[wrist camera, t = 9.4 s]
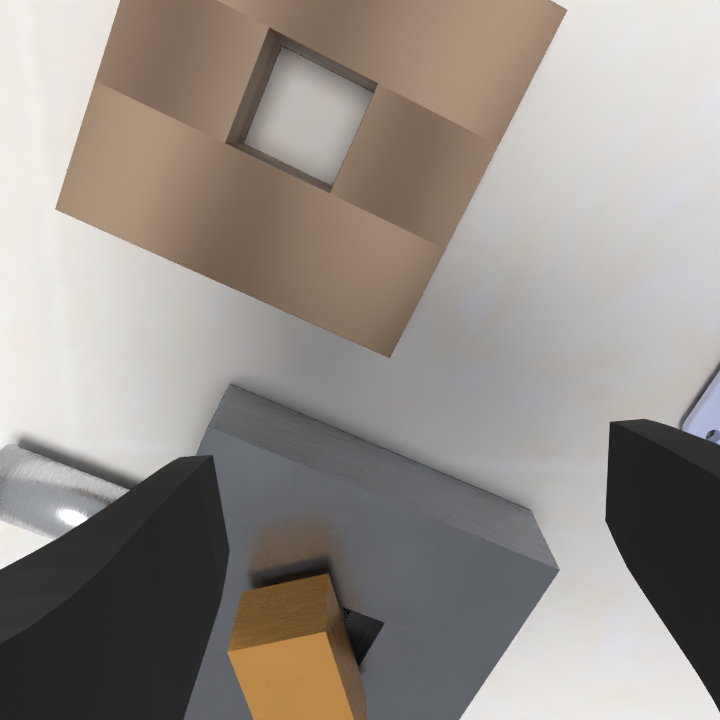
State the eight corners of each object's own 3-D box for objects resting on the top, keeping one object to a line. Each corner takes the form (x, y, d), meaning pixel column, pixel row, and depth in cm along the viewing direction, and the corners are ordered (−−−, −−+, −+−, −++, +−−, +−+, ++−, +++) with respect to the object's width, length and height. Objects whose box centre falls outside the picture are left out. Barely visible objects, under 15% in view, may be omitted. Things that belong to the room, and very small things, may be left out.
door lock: (530, 510, 24) (560, 569, 20) (389, 733, 27) (394, 815, 24) (60, 312, 21) (5, 343, 18) (-31, 587, 24) (-91, 656, 21)
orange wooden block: (364, 611, 25) (368, 763, 19) (295, 625, 25) (277, 781, 19) (332, 504, 23) (325, 631, 17) (259, 520, 24) (227, 652, 17)
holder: (534, 31, 18) (567, 9, 16) (384, 329, 21) (389, 358, 18) (212, -147, 17) (184, -206, 14) (97, 200, 20) (55, 209, 17)
